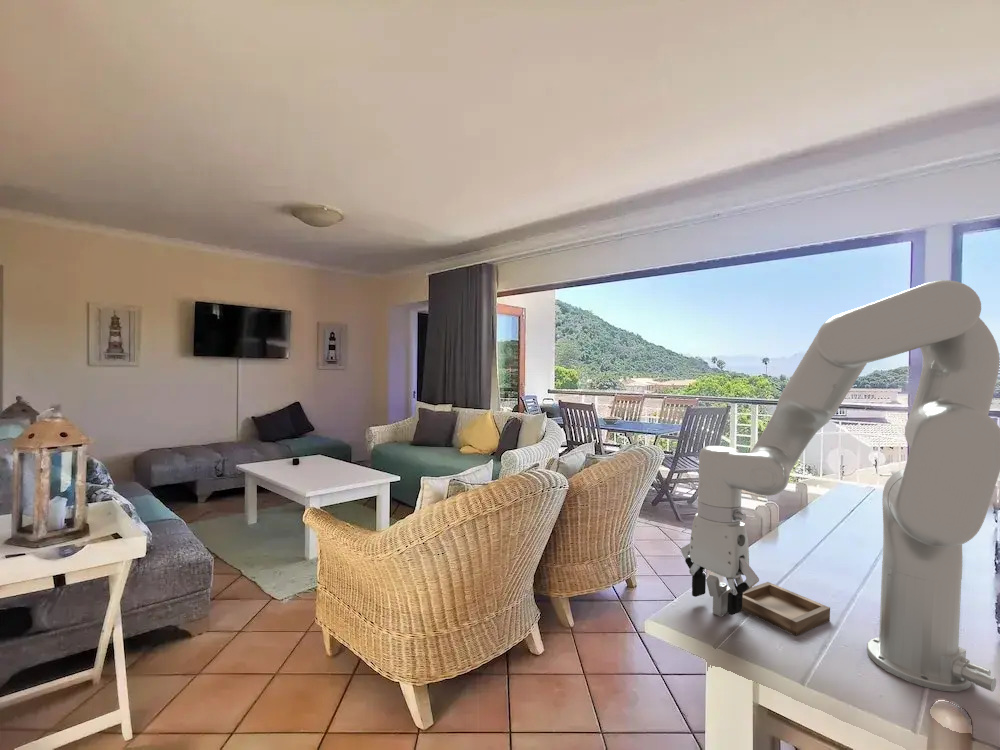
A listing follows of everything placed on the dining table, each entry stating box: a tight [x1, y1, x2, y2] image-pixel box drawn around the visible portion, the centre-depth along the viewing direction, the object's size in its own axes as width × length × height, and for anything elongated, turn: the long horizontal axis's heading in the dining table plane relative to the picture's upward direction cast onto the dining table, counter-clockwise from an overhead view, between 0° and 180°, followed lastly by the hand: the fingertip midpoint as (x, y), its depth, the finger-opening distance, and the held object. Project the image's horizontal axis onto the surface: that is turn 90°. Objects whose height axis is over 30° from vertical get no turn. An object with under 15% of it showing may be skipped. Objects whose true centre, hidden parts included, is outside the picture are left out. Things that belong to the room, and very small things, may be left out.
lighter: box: [706, 574, 731, 617], centre depth 93 cm, size 7×2×8 cm, turn 131°
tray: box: [741, 581, 831, 637], centre depth 93 cm, size 12×11×2 cm
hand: (715, 602), depth 93 cm, fingers open, 7 cm apart
